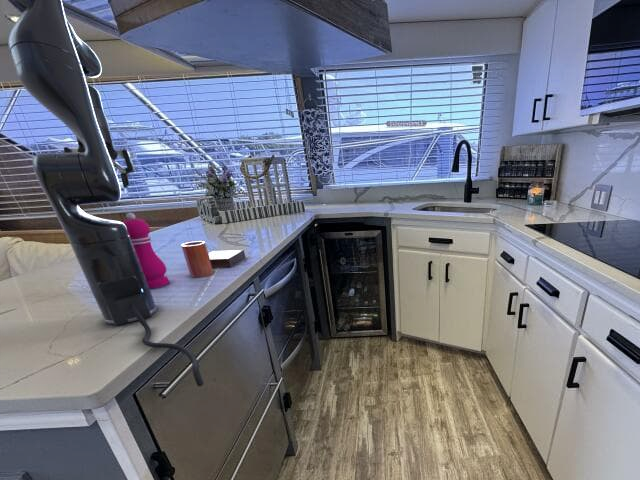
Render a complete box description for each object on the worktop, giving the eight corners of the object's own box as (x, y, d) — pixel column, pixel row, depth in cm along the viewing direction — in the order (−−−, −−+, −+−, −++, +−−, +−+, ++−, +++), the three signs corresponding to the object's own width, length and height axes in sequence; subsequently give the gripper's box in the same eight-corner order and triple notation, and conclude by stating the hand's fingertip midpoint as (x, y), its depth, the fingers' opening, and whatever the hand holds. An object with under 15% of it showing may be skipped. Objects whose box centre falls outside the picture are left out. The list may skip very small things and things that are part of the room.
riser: (230, 267, 104) (228, 258, 103) (197, 268, 104) (194, 259, 103) (245, 258, 114) (243, 249, 113) (215, 259, 114) (212, 251, 113)
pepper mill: (134, 288, 89) (105, 214, 81) (160, 279, 95) (135, 210, 87) (151, 290, 86) (122, 215, 78) (176, 282, 92) (153, 210, 84)
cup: (216, 273, 98) (207, 243, 95) (193, 278, 95) (183, 247, 91) (210, 269, 103) (202, 240, 99) (188, 274, 99) (179, 244, 95)
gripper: (50, 120, 83) (69, 185, 87) (120, 125, 90) (135, 185, 93) (62, 129, 90) (79, 189, 93) (126, 132, 96) (140, 189, 100)
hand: (107, 187), depth 93 cm, fingers open, 8 cm apart
